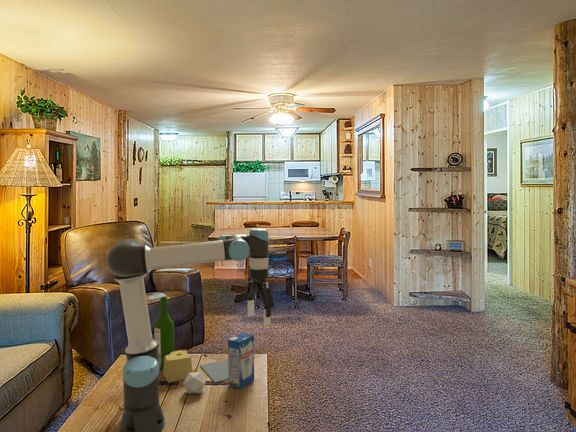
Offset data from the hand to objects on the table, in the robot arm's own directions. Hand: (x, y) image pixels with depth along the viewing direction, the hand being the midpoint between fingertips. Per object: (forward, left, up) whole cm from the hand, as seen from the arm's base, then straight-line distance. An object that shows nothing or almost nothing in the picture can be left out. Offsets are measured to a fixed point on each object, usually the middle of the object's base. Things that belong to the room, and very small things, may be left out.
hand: (258, 320), depth 173 cm
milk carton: (-2, +13, -31) cm, 34 cm away
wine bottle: (-26, +47, -31) cm, 62 cm away
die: (-22, +15, -31) cm, 41 cm away
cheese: (-24, +33, -31) cm, 51 cm away
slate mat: (-3, +29, -31) cm, 42 cm away
